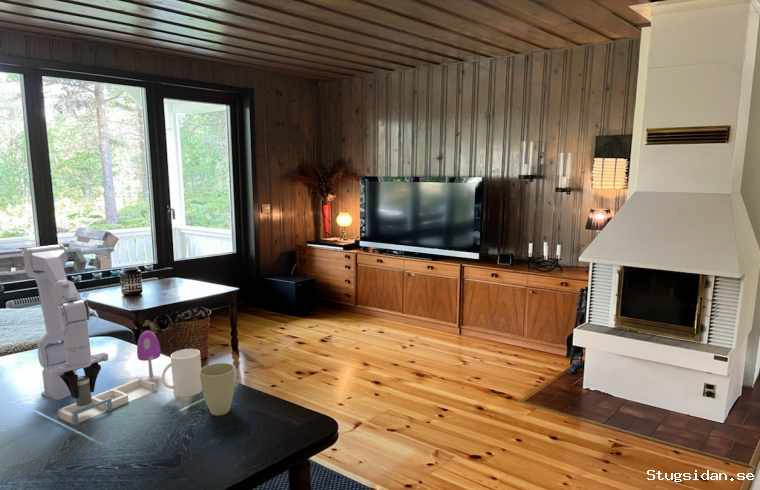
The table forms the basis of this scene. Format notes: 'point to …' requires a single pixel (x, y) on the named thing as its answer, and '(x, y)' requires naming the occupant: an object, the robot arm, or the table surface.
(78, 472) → the table surface
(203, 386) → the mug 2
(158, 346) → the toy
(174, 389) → the mug
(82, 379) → the plug
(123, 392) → the compartment tray
